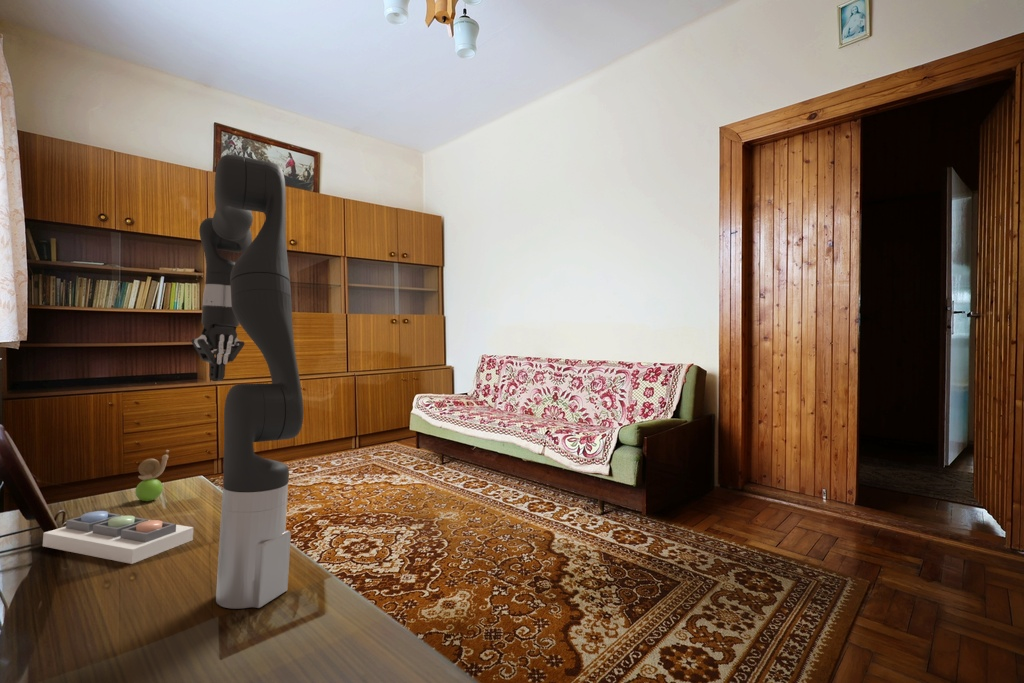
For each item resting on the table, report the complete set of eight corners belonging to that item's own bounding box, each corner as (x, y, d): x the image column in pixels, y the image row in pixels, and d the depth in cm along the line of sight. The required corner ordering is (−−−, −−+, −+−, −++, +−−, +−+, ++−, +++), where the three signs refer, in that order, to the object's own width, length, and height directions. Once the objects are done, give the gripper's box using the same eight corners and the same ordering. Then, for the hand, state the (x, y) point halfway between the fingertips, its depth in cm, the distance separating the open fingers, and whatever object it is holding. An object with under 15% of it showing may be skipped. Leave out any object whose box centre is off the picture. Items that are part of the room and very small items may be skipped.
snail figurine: (170, 499, 122) (173, 451, 122) (140, 505, 116) (143, 455, 117) (160, 495, 125) (163, 448, 125) (130, 501, 119) (134, 451, 120)
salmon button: (166, 532, 94) (167, 521, 94) (146, 539, 90) (147, 528, 90) (150, 529, 95) (151, 519, 95) (130, 536, 91) (130, 525, 91)
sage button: (139, 527, 96) (139, 516, 96) (118, 534, 92) (118, 523, 92) (123, 524, 97) (124, 514, 97) (102, 531, 93) (102, 520, 93)
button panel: (192, 540, 97) (194, 519, 97) (131, 563, 85) (133, 540, 86) (110, 525, 103) (111, 506, 103) (42, 546, 91) (44, 524, 91)
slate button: (112, 522, 97) (113, 512, 97) (90, 528, 94) (91, 518, 94) (97, 519, 98) (98, 509, 98) (75, 526, 95) (76, 515, 95)
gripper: (210, 302, 105) (205, 382, 105) (256, 309, 118) (252, 380, 117) (182, 302, 107) (177, 380, 107) (231, 308, 120) (227, 378, 119)
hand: (216, 380), depth 112 cm, fingers closed
